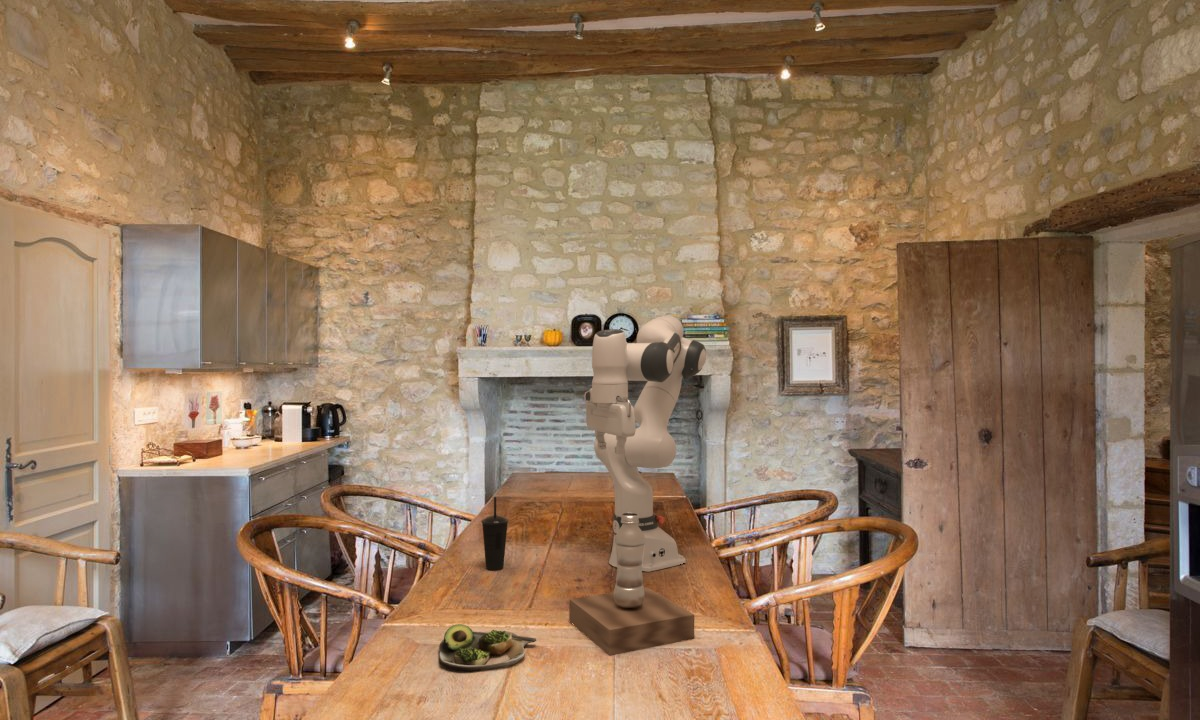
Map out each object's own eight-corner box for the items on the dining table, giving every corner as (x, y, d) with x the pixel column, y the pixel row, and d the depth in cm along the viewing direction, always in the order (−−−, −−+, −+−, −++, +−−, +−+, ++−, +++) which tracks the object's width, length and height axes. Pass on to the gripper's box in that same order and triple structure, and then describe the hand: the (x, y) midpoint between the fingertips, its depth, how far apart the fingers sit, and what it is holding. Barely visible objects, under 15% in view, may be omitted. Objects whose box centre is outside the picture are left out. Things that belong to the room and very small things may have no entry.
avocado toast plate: (531, 633, 149) (531, 611, 149) (542, 668, 132) (543, 644, 132) (439, 640, 145) (439, 618, 145) (438, 677, 127) (438, 652, 127)
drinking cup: (513, 566, 197) (513, 495, 197) (500, 573, 190) (501, 500, 190) (489, 563, 200) (489, 494, 200) (475, 570, 192) (476, 498, 193)
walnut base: (646, 608, 164) (647, 587, 164) (694, 638, 146) (694, 614, 146) (569, 621, 155) (569, 599, 155) (609, 655, 137) (609, 630, 137)
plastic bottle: (613, 601, 154) (614, 511, 154) (644, 601, 153) (644, 511, 154) (613, 611, 147) (614, 517, 147) (645, 612, 147) (646, 517, 147)
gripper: (642, 397, 162) (642, 456, 162) (603, 392, 180) (603, 445, 180) (618, 398, 159) (618, 458, 159) (581, 393, 177) (581, 447, 178)
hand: (610, 451), depth 170 cm, fingers open, 8 cm apart
